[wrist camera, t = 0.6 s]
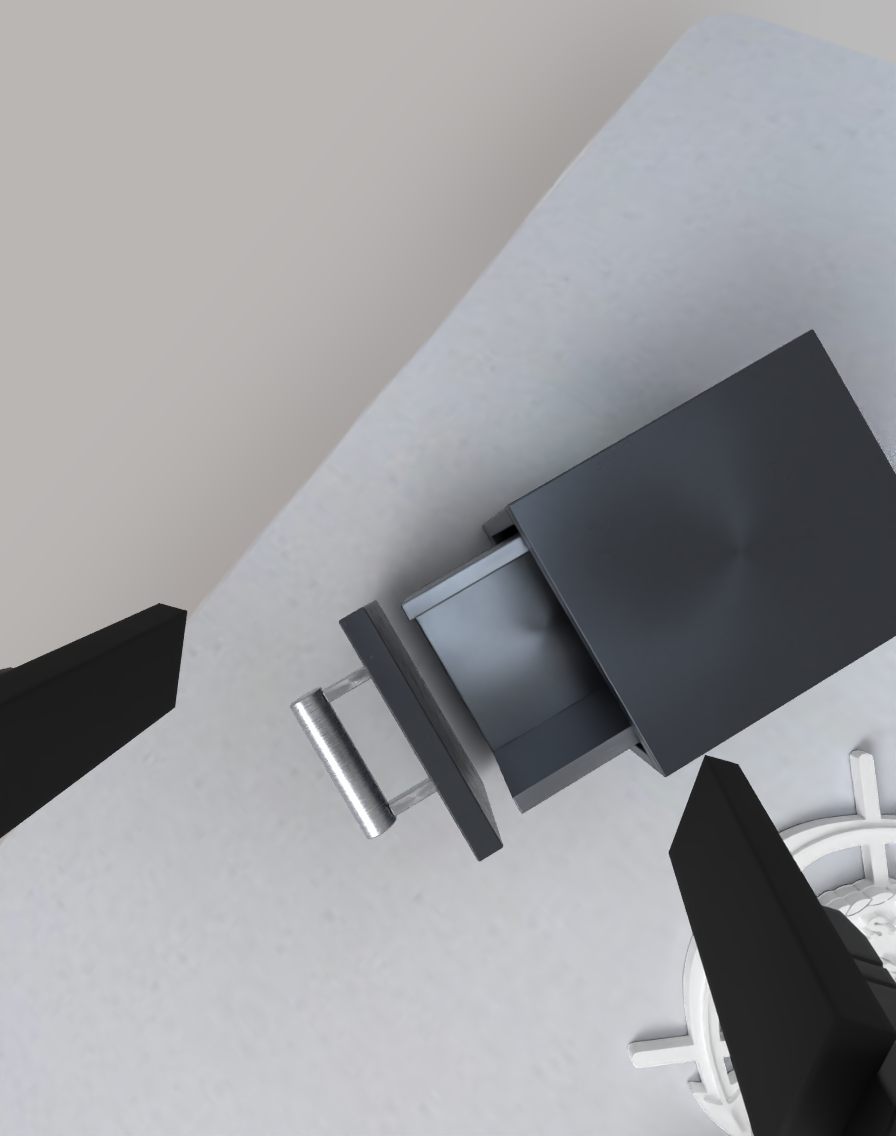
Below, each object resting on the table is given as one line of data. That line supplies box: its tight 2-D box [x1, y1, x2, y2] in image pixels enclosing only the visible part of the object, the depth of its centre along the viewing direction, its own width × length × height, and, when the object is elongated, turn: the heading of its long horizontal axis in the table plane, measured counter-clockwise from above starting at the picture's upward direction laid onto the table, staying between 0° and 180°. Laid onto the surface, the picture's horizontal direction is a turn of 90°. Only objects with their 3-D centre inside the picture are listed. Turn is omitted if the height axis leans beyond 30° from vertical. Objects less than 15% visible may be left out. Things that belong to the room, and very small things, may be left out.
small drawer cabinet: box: [483, 330, 896, 777], centre depth 30 cm, size 15×13×10 cm
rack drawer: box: [290, 532, 640, 861], centre depth 29 cm, size 18×11×8 cm, turn 120°
